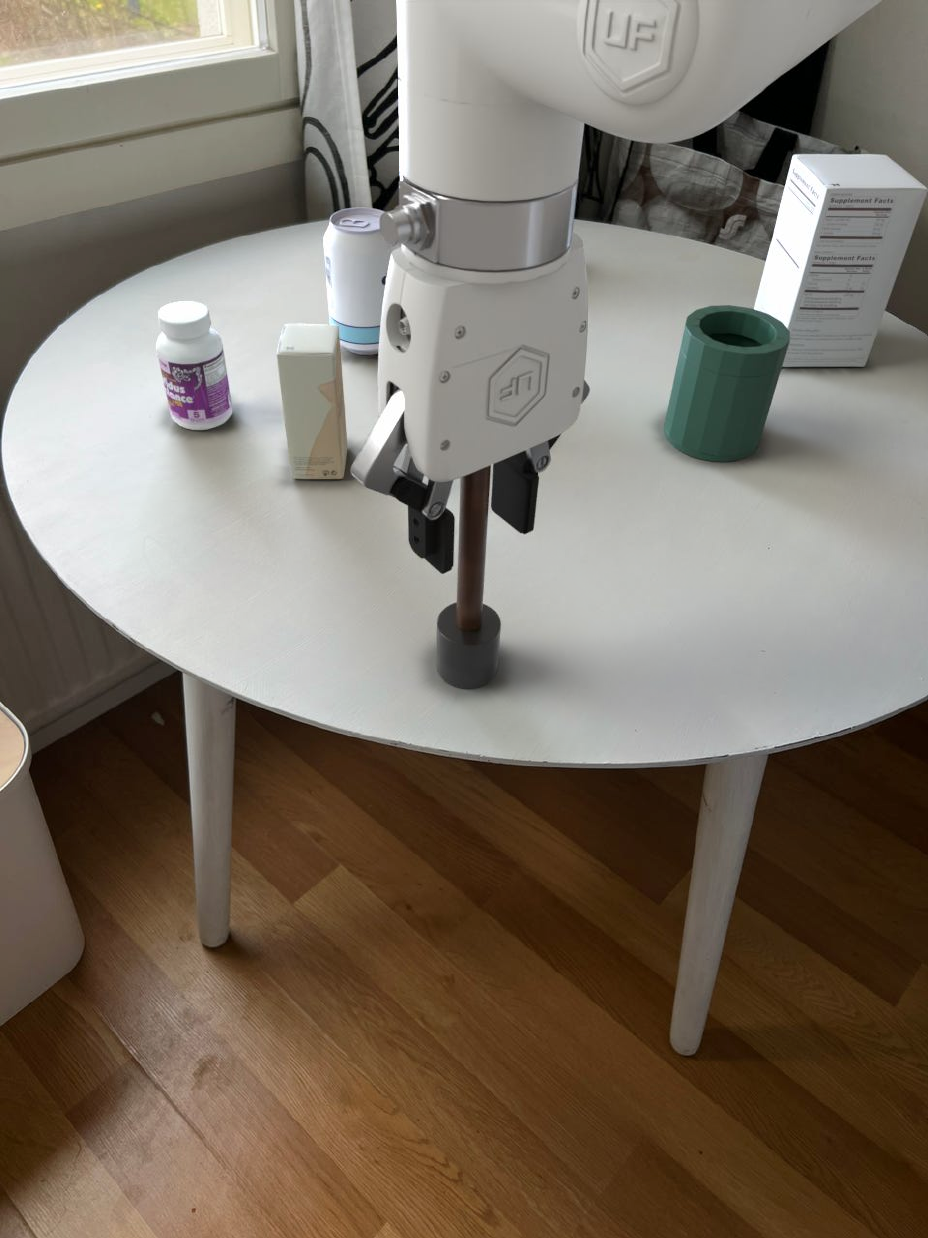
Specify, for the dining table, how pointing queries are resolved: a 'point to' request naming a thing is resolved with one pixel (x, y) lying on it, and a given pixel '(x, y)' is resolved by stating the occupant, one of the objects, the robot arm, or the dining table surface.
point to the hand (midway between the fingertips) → (472, 537)
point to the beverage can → (356, 276)
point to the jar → (725, 382)
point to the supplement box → (837, 254)
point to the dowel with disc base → (470, 597)
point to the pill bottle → (193, 366)
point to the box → (313, 400)
